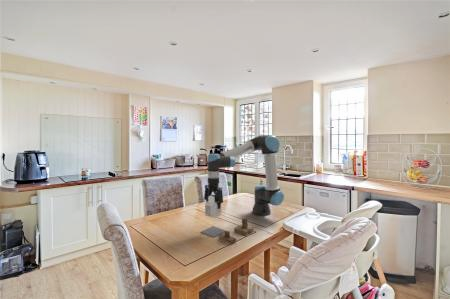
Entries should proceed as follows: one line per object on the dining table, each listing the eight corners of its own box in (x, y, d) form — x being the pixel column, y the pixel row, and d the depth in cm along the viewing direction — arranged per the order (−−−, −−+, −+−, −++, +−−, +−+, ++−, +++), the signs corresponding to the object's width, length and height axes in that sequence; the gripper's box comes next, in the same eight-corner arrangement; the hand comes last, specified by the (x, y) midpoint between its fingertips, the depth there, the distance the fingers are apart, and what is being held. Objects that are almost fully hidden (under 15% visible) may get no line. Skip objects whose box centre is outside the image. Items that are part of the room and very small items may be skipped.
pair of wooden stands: (240, 227, 147) (240, 215, 146) (253, 231, 140) (253, 219, 140) (218, 239, 129) (218, 225, 129) (231, 244, 123) (231, 230, 122)
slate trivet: (213, 226, 148) (213, 226, 148) (226, 231, 141) (226, 230, 141) (200, 232, 139) (200, 231, 139) (214, 237, 132) (214, 236, 132)
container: (212, 212, 145) (212, 193, 145) (221, 215, 140) (221, 195, 140) (204, 215, 139) (204, 195, 139) (213, 218, 134) (213, 197, 134)
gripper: (198, 176, 142) (198, 210, 143) (221, 180, 129) (221, 217, 130) (206, 175, 148) (206, 207, 149) (229, 178, 135) (229, 213, 136)
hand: (213, 211), depth 139 cm, fingers closed on container, 8 cm apart
